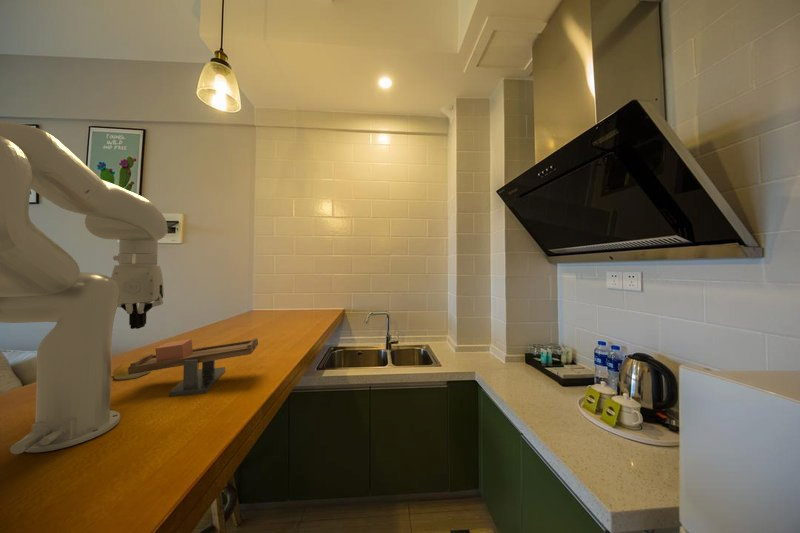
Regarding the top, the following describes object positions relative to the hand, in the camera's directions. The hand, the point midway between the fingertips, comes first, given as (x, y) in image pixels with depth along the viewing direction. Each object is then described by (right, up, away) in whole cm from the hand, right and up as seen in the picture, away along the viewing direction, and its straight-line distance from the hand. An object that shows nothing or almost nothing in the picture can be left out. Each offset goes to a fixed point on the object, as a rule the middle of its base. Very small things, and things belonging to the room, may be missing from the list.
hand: (137, 327), depth 74 cm
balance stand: (+14, -17, +4) cm, 22 cm away
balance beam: (+14, -10, +4) cm, 18 cm away
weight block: (+9, -9, +2) cm, 13 cm away
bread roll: (-10, -17, +9) cm, 22 cm away
